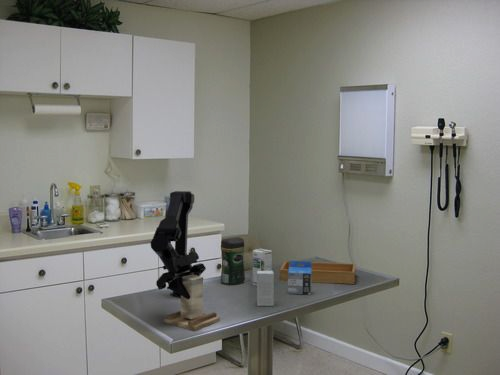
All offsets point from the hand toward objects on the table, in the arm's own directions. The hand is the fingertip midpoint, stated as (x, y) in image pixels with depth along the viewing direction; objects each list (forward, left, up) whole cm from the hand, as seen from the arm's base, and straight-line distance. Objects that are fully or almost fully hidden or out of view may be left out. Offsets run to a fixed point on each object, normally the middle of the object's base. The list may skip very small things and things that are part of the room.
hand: (194, 296), depth 189 cm
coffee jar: (-21, +46, -9) cm, 51 cm away
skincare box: (+7, +30, -9) cm, 32 cm away
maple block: (-1, 0, -7) cm, 7 cm away
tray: (+3, +74, -9) cm, 75 cm away
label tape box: (+9, +50, -9) cm, 52 cm away
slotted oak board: (-1, 0, -9) cm, 9 cm away
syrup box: (-9, +50, -9) cm, 52 cm away
